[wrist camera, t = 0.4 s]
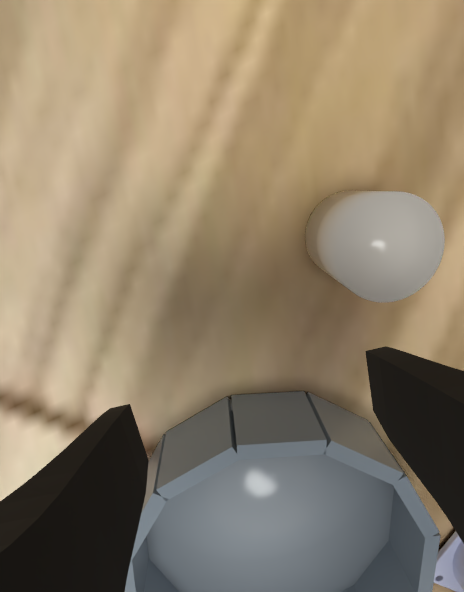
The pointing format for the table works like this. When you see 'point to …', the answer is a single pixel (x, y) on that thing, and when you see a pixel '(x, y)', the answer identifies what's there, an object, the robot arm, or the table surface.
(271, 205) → the table surface
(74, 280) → the table surface
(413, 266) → the pebble
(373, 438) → the bowl
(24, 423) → the table surface
